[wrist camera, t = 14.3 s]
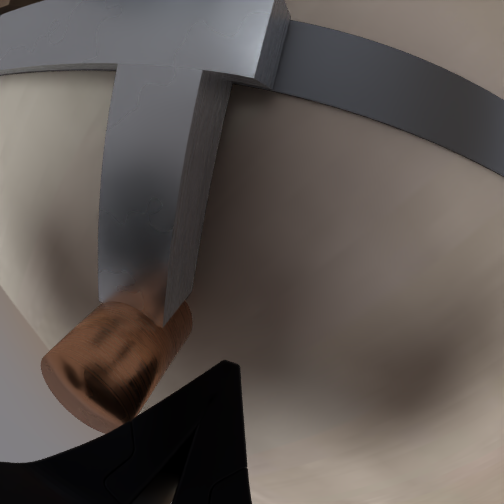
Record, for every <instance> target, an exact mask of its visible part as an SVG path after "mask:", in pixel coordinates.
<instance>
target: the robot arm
mask: <svg viewBox="0 0 504 504" xmlns="http://www.w3.org/2000/svg"><path fill="white" fill-rule="evenodd" d="M171 502H172V503H171ZM0 504H252V501H251V494H250V487H249V478H248V469H247V455H246V442H245V429H244V416H243V402H242V387H241V373H240V366H239V364H236V363H233V362H230V361H227V360H222V361H221V362H219V363H218V364H216V365H215V366H214V367H212V368H211V369H209V370H208V371H206V372H205V373H203V374H202V375H200V376H199V377H197V378H196V379H194V380H193V381H191V382H190V383H188V384H187V385H185V386H184V387H182V388H181V389H179V390H177V391H176V392H174V393H173V394H171V395H170V396H168V397H167V398H165V399H163V400H162V401H160V402H159V403H157V404H156V405H154V406H152V407H151V408H149V409H148V410H146V411H144V412H143V413H141V414H139V415H138V416H136V417H134V418H133V419H131V421H128V422H126V423H124V424H123V425H121V426H119V427H118V428H116V429H114V430H112V431H110V432H108V433H106V434H105V435H103V436H101V437H98V438H96V439H94V440H92V441H89V442H87V443H85V444H82V445H80V446H77V447H75V448H72V449H70V450H67V451H64V452H61V453H59V454H56V455H53V456H51V457H47V458H45V459H42V460H38V461H34V462H28V463H10V462H0Z"/></svg>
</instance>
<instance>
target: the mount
mask: <svg viewBox="0 0 504 504" xmlns="http://www.w3.org/2000/svg"><path fill="white" fill-rule="evenodd" d="M41 1H44V0H0V15H2V14H5V13H7V12H10V11H13V10H16V9H19V8H21V7H25V6H28V5H31V4H34V3H37V2H41ZM73 70H101V71H117V70H113V69H66V70H44V71H30V72H19V73H31V72H46V71H73ZM19 73H10V74H19ZM1 75H9V74H1ZM1 75H0V76H1ZM233 83H234V84H239V85H245V86H250V87H255V88H260V89H265V90H269V91H274V92H278V93H283V94H287V95H291V96H295V97H299V98H303V99H307V100H311V101H315V102H318V103H322V104H325V105H329V106H332V107H336V108H339V109H343V110H346V111H349V112H352V113H355V114H358V115H361V116H365V117H367V118H370V119H373V120H376V121H379V122H382V123H385V124H388V125H390V126H393V127H396V128H398V129H401V130H404V131H406V132H409V133H411V134H414V135H416V136H419V137H421V138H424V139H426V140H428V141H431V142H433V143H435V144H438V145H440V146H442V147H444V148H447V149H449V150H451V151H453V152H455V153H458V154H460V155H462V156H464V157H466V158H468V159H470V160H472V161H474V162H476V163H478V164H480V165H482V166H484V167H486V168H488V169H490V170H492V171H494V172H495V173H497V174H499V175H501V176H503V177H504V100H503V99H501V98H499V97H498V96H496V95H494V94H492V93H491V92H489V91H487V90H485V89H483V88H482V87H480V86H478V85H476V84H474V83H472V82H470V81H469V80H467V79H465V78H463V77H461V76H459V75H457V74H454V73H452V72H450V71H448V70H446V69H444V68H442V67H440V66H437V65H435V64H433V63H430V62H428V61H426V60H423V59H421V58H419V57H416V56H414V55H411V54H409V53H406V52H403V51H401V50H398V49H395V48H392V47H390V46H387V45H384V44H381V43H378V42H375V41H372V40H369V39H365V38H362V37H359V36H356V35H352V34H349V33H345V32H341V31H337V30H334V29H330V28H326V27H321V26H317V25H313V24H308V23H303V22H298V21H293V20H290V22H289V26H288V30H287V34H286V38H285V42H284V46H283V50H282V53H281V57H280V61H279V65H278V69H277V73H276V77H275V81H274V85H273V90H272V89H268V88H263V87H258V86H253V85H248V84H243V83H237V82H233Z"/></svg>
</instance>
